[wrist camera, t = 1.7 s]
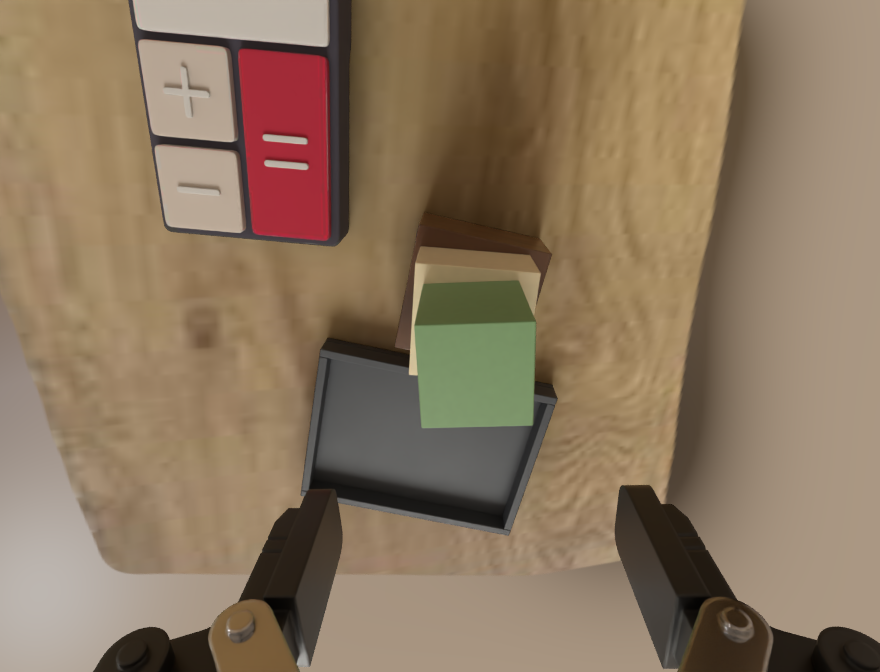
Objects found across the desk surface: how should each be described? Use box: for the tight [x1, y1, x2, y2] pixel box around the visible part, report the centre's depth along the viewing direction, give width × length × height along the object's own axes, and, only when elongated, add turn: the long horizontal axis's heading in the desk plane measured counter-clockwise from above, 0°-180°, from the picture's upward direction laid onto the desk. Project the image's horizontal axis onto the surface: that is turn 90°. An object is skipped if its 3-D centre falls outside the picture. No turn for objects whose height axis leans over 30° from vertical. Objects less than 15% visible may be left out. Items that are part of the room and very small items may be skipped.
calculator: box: [128, 0, 351, 246], centre depth 29 cm, size 11×4×15 cm
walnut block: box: [395, 213, 552, 350], centre depth 33 cm, size 8×8×4 cm
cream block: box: [409, 246, 541, 375], centre depth 29 cm, size 6×6×4 cm
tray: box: [301, 338, 557, 535], centre depth 39 cm, size 13×17×2 cm
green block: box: [414, 280, 536, 428], centre depth 24 cm, size 5×5×6 cm
